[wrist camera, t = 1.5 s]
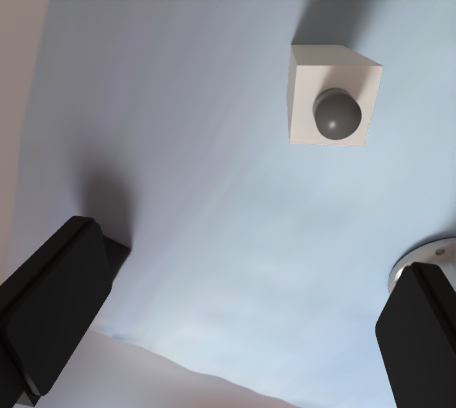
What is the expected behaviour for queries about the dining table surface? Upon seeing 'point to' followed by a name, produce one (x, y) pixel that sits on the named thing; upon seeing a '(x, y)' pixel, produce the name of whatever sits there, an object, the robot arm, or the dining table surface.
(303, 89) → the plug
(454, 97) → the dining table surface
